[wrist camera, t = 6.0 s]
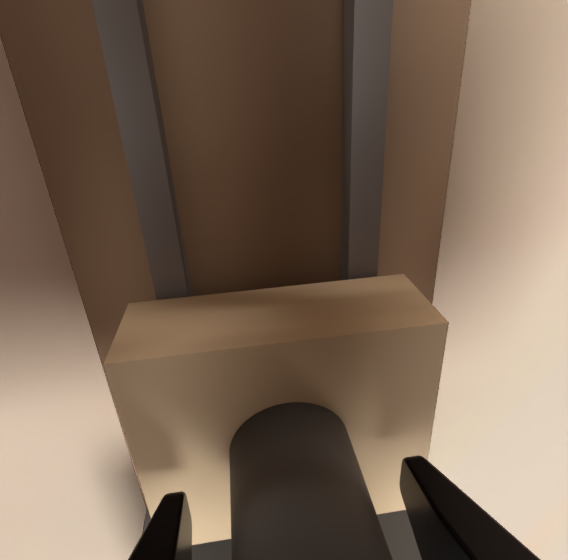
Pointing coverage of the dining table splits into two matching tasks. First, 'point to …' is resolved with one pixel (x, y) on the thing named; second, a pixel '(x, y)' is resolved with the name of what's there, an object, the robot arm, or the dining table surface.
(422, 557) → the robot arm
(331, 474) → the carriage
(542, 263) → the dining table surface
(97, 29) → the rail track
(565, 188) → the dining table surface
